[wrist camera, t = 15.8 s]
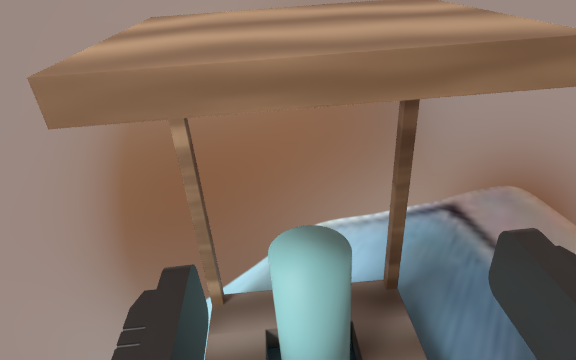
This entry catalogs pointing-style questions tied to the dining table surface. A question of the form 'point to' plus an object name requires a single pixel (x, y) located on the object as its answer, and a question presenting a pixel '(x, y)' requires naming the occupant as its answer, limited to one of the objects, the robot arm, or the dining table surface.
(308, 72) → the tan frame
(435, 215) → the dining table surface
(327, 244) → the peg
